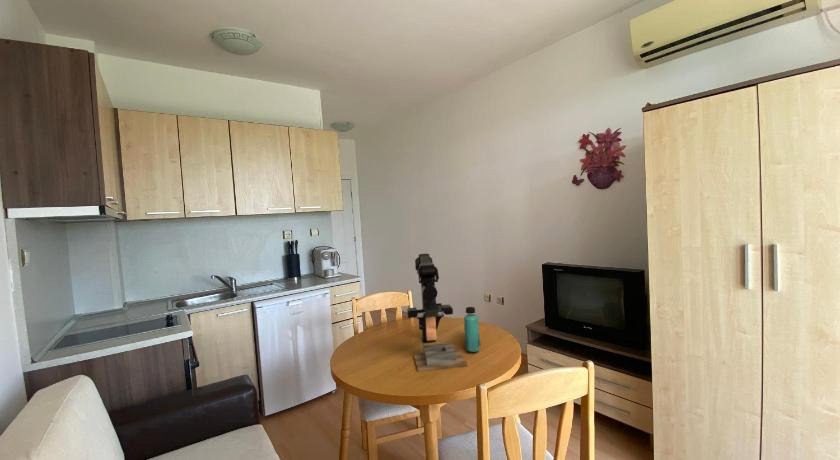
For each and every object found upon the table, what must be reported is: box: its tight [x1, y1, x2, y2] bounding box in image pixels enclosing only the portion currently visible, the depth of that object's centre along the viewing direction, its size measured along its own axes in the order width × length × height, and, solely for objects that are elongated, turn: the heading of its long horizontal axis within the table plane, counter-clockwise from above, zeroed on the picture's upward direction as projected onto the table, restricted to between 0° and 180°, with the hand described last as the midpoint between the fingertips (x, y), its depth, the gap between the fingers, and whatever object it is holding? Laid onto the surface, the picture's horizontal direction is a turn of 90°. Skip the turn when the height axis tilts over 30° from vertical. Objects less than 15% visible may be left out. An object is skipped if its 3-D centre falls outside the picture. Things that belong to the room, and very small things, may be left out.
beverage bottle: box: [463, 306, 481, 353], centre depth 154 cm, size 6×7×20 cm
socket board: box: [413, 342, 468, 373], centre depth 148 cm, size 16×20×5 cm
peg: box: [425, 314, 438, 341], centre depth 147 cm, size 4×4×10 cm
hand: (430, 331), depth 147 cm, fingers closed on peg, 4 cm apart
